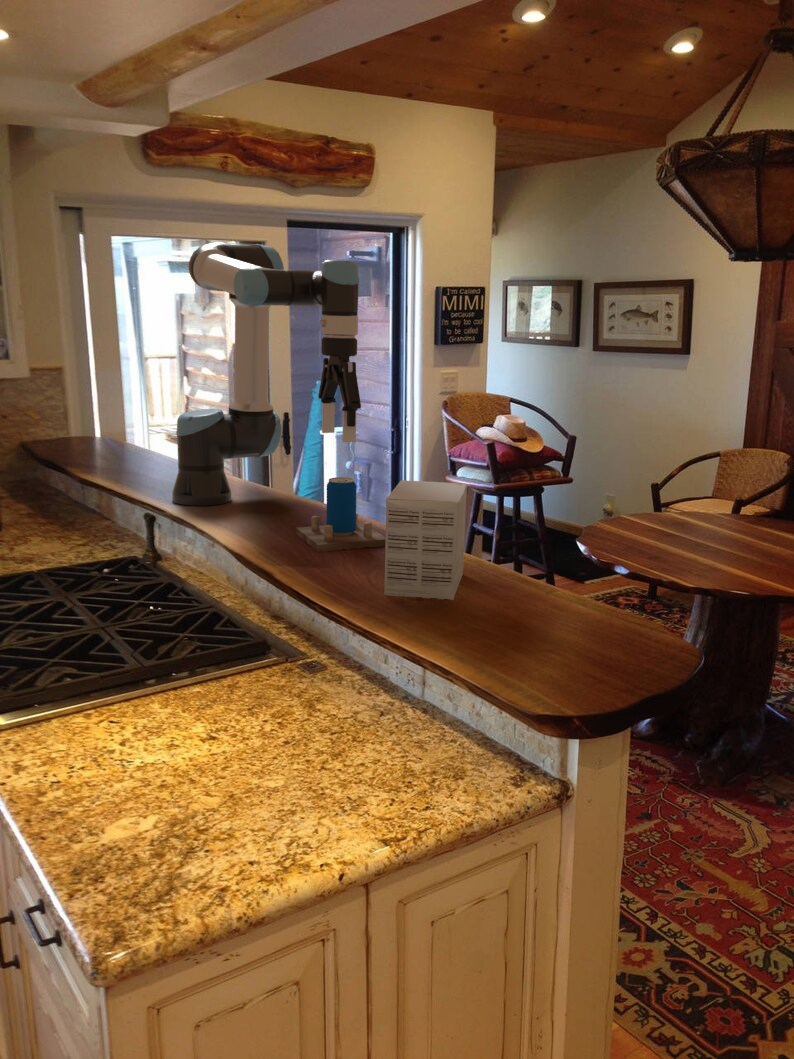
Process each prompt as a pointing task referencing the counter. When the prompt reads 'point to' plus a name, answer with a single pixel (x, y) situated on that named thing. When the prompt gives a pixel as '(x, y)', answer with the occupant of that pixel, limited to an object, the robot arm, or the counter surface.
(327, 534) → the peg stand
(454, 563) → the supplement box
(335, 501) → the beverage can
